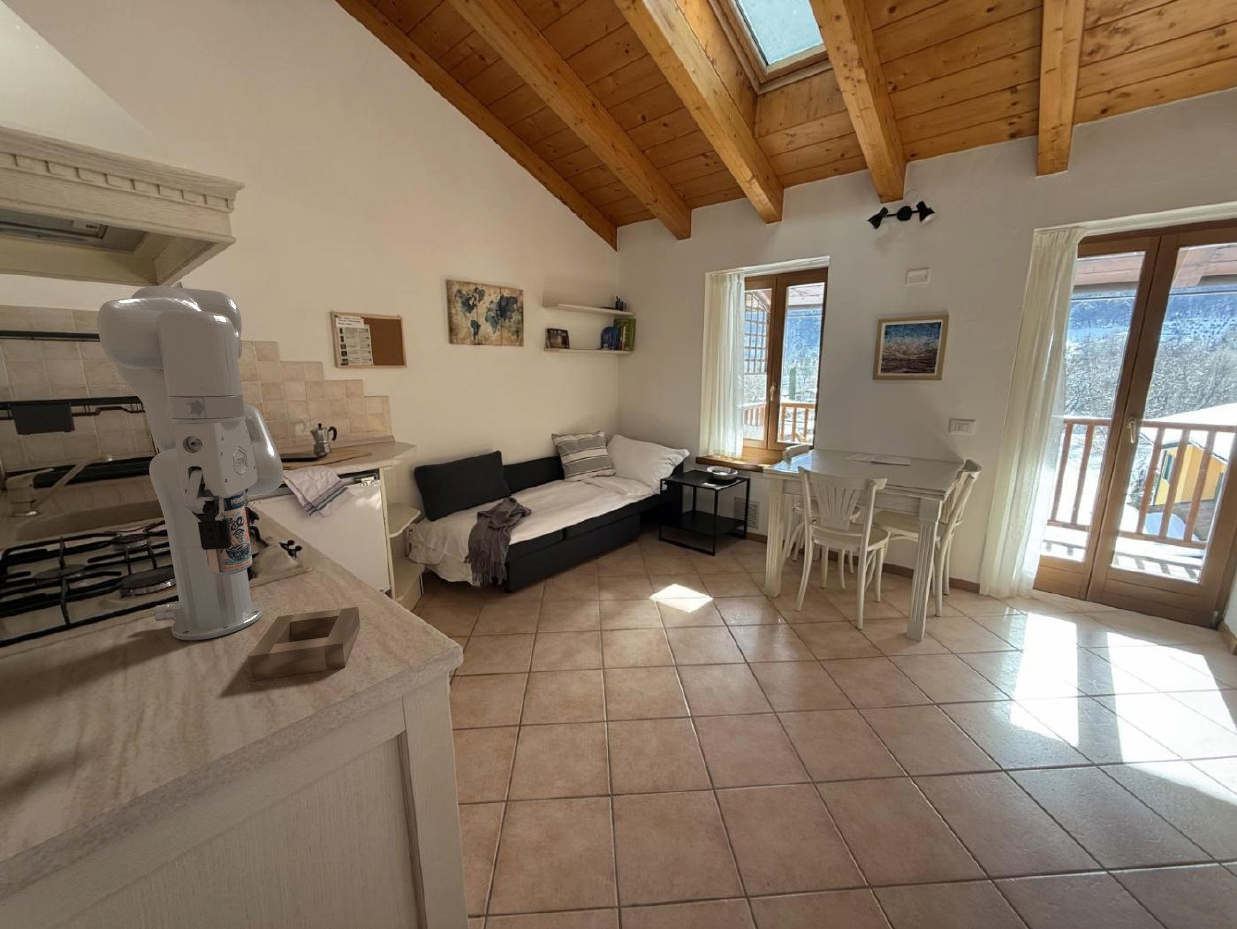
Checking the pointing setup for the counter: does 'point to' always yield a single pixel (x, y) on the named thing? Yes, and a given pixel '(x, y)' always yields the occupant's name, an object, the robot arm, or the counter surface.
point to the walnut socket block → (305, 643)
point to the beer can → (232, 539)
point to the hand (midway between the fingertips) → (227, 539)
